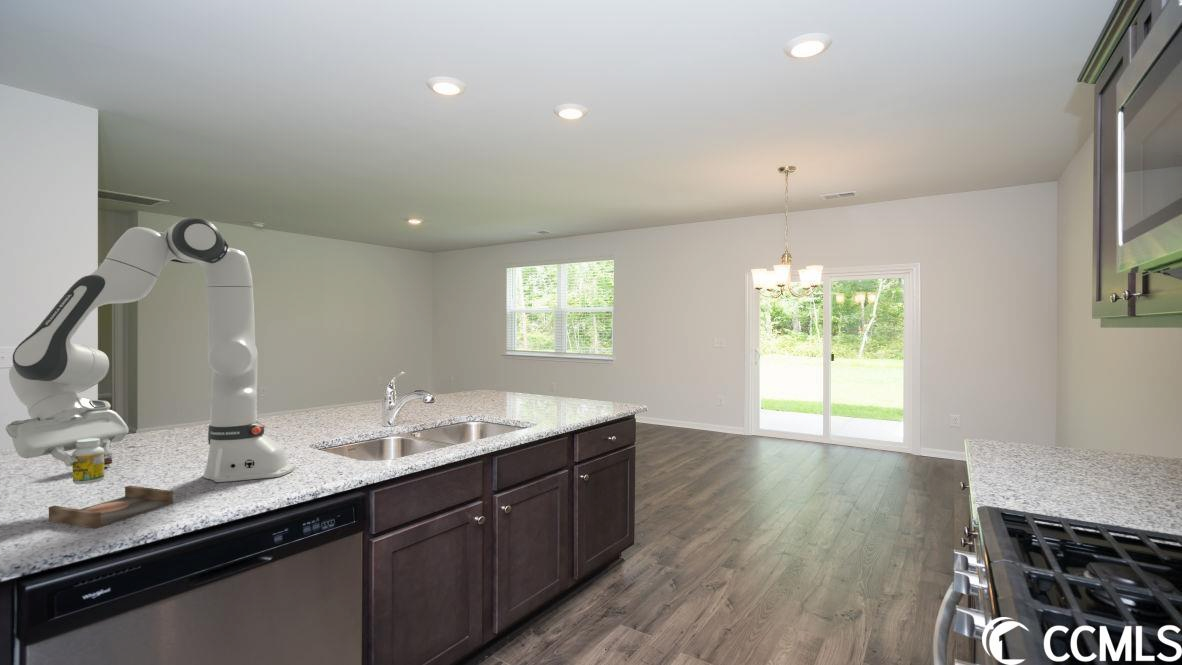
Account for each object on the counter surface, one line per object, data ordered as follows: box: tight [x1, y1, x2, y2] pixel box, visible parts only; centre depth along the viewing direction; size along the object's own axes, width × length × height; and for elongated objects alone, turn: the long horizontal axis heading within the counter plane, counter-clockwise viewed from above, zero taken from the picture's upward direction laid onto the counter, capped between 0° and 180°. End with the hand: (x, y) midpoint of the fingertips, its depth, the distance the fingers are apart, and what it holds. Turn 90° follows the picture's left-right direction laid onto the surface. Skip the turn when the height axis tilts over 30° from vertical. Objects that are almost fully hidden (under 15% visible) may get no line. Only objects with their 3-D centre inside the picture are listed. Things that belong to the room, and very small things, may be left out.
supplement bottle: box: [71, 438, 105, 485], centre depth 124 cm, size 5×5×10 cm
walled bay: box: [48, 485, 174, 529], centre depth 122 cm, size 14×16×3 cm
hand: (90, 460), depth 124 cm, fingers closed on supplement bottle, 5 cm apart
